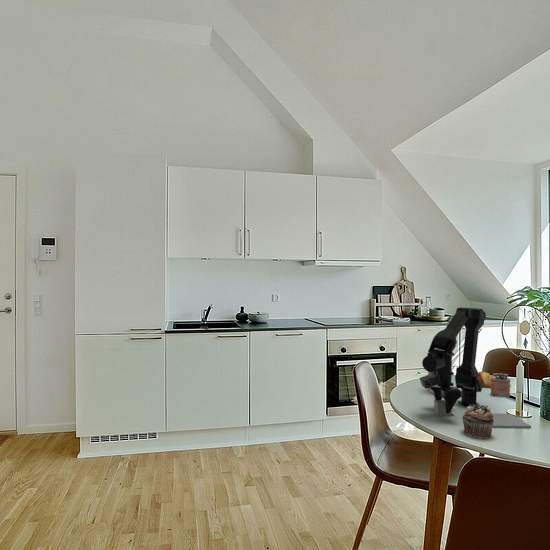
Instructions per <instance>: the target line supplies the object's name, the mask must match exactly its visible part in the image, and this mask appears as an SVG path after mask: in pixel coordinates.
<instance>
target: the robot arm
mask: <svg viewBox="0 0 550 550" xmlns="http://www.w3.org/2000/svg"><path fill="white" fill-rule="evenodd" d="M486 318H487V314H486V311H484V309H483V308H480V307H479V308H478V307H477V308H476V307H462V306H460V307H457V308H456V311H455V312H454V315H453V316H452V318H451V319H450V320H449V322H448V324H447V325H446V327H445V328H444V329H442V330H439V331H437V333H436V334H435V335H434V337H433V338H432V340H431V343H430V345H429V349H428V351H427V355H426V356H424V358H423V359H422V362H421V363H422V364H421V365H422V367H423V369H424V370H425V371H427V373H428V372H433V374H430V375H428V374H427V375H424V376H421V377H419V380H420V381H419V382H420V384H421V387H423V388H424V389H427V390H428V388H430V389H431V390H432V391H433V393H432V394H433V397H434V400H445V409H446V413H447V414H449V413H450V412H451V410H452V408H453V406H454V407H455V405H456V403H459V404H461V405H462V406H463V407H469V405H471V404H476V403H477V399H478V398H477V396H478V395H477V393H482V391H483V388H484V387H483V385H482V383H481V382H480V380H479V378H478V377H479V371H478V369H477V367H476V359H477V352H478V351H477V349H478V340H479V331H480V330H481V328H482V327H483V326H484V324H485V320H486ZM463 327H464V328H465V334H464V341H463V342H464V344H463V350H462V351H463V353H462V360H461V364H460V365H459V366H457V367H456V368H455V373H454V371H453V369H452V368H453V366H452V365H453V356H455V353H454V350H455V348H456V346H457V344H458V341H457V337H458V335H460V334H459V333H460V332H461V331H462V329H463ZM454 375H455V376H454ZM452 376H454V381H455V386H454V383H453V382H452V378H453V377H452ZM460 398H461V400H459V399H460Z"/></svg>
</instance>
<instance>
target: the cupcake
mask: <svg viewBox="0 0 550 550" xmlns="http://www.w3.org/2000/svg"><path fill="white" fill-rule="evenodd" d="M491 413H492V412H491V407H490V406H488V405H484V404H483V405H481V404H480V403H479V402H476V404H471V405H469V406H466V409H465V411H464V414H463V415H462V416H461V418H462V422H463V430H464V433H465V434H466V433H467V434H469V435H472V436H471V437H473V436H476V437H475V438H477V437H483V438H482V439H488V438H490V437H491V435H492V432H493V428H494V427H493V424H494V421H493V415H492V414H491ZM467 434H466V435H467ZM469 435H468V436H469ZM484 437H486V438H484ZM487 437H488V438H487Z"/></svg>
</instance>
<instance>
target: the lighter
mask: <svg viewBox="0 0 550 550" xmlns="http://www.w3.org/2000/svg"><path fill="white" fill-rule="evenodd" d="M508 375H509V374H507V373H502V372H498V373H495V372H494V373H492V376H496V378H491V388H490V396H491V397H495V398H496V397H498V398H510V397H511V394H510V393H511V387H510V384H511V379H510V378H508V377H509V376H508Z"/></svg>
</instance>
